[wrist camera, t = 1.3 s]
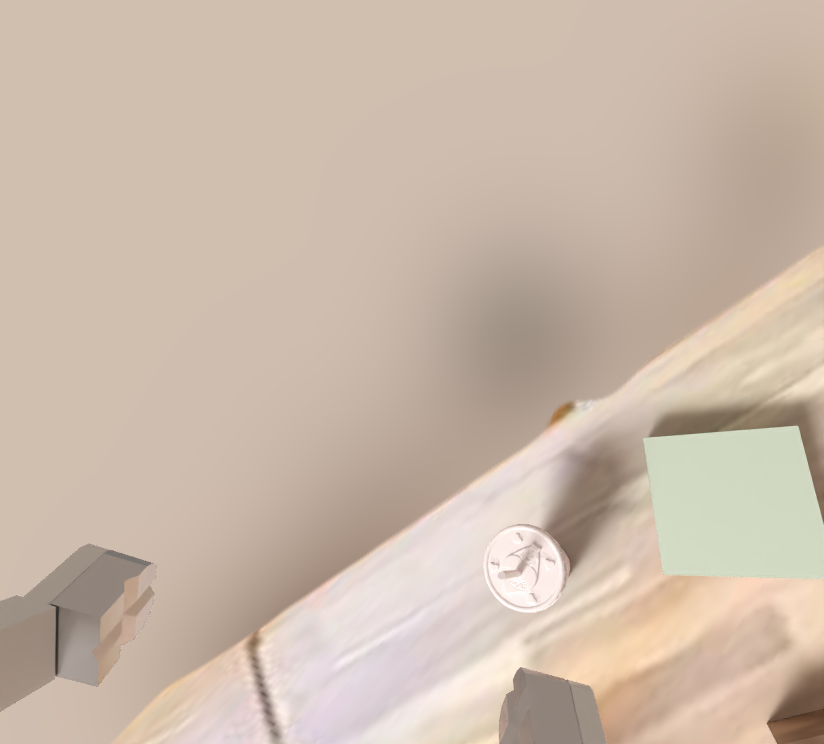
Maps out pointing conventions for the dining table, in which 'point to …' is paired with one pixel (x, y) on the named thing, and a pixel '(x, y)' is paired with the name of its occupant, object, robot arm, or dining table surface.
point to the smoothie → (526, 568)
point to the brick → (799, 729)
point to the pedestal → (736, 504)
